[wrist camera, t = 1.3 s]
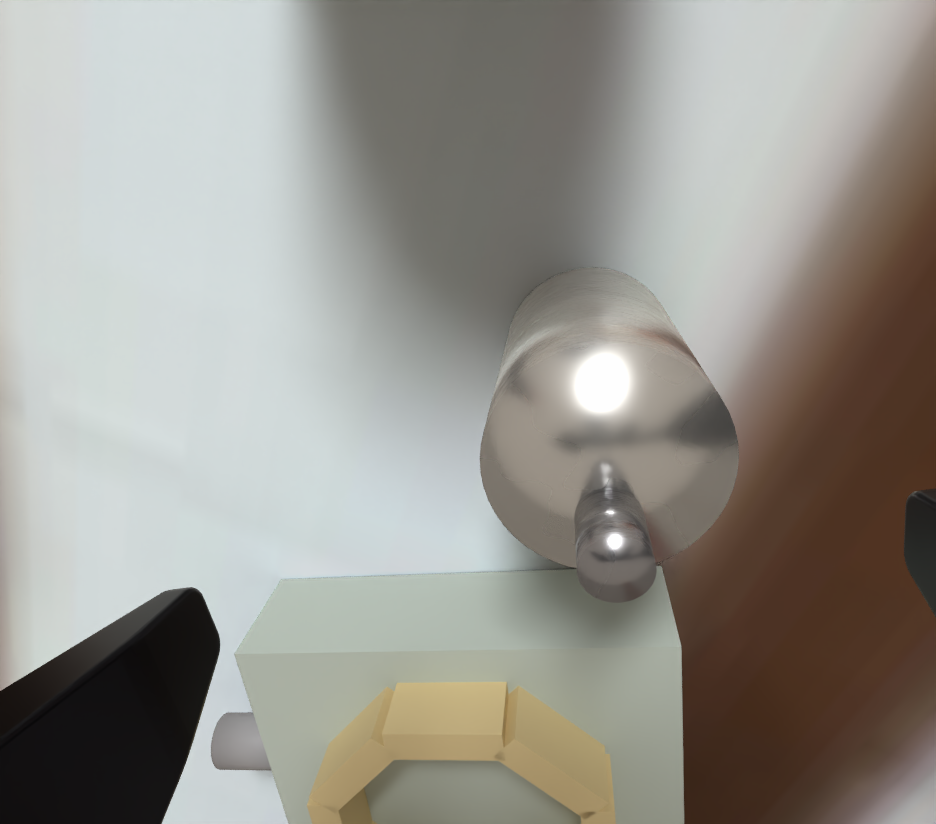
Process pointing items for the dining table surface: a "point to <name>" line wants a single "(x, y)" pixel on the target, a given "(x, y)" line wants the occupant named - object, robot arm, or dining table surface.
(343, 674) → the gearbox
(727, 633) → the dining table surface
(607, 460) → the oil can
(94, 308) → the dining table surface
